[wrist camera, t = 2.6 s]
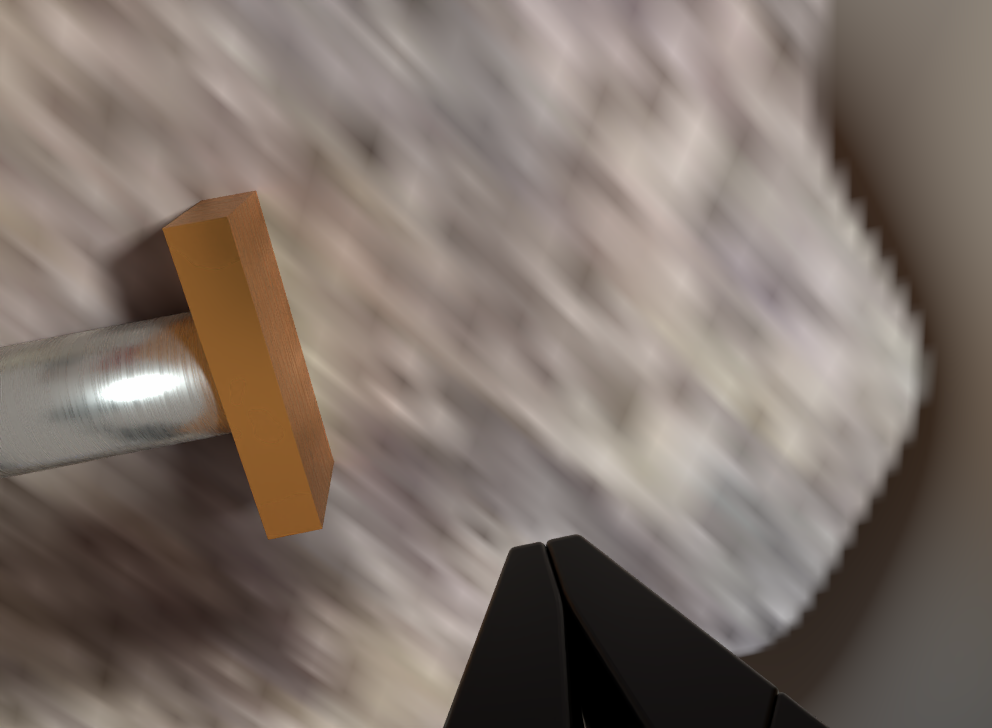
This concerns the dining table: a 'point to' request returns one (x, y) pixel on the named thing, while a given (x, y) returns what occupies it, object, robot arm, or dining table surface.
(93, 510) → the dining table surface
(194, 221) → the pin
